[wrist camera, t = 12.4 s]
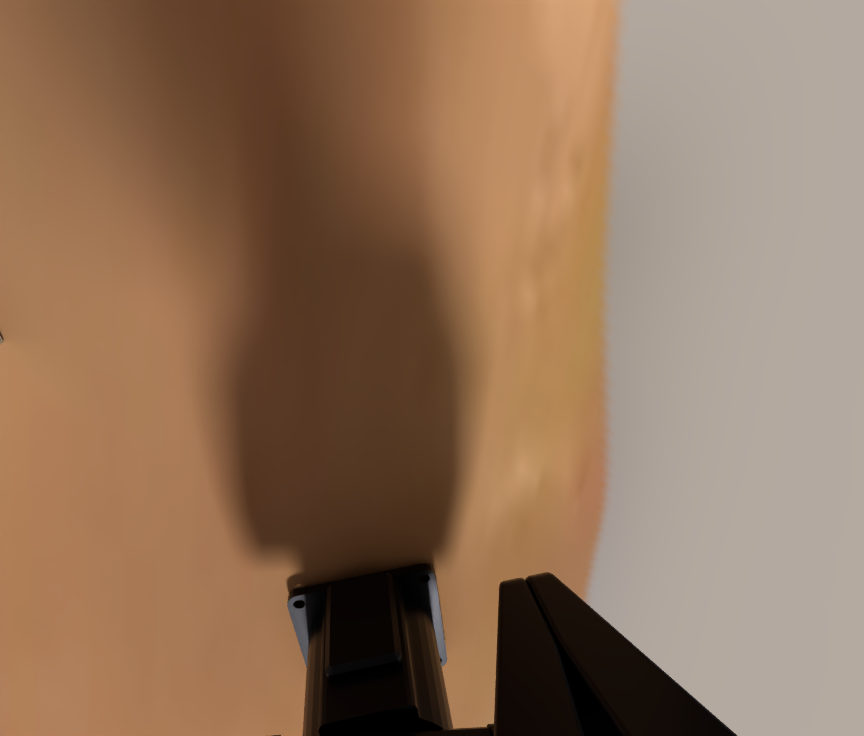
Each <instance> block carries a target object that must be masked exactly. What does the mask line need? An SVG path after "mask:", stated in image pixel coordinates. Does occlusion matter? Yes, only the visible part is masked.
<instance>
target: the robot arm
mask: <svg viewBox="0 0 864 736" xmlns="http://www.w3.org/2000/svg"><path fill="white" fill-rule="evenodd" d="M421 575H426V576H421ZM297 600H302V601H297ZM288 609H289V613H290V616H291V619H292V622H293V625H294V629H295V632H296V635H297V638H298V641H299V645H300V648H301V651H302V654H303V657H304V660H305V664H306V667H307V674H306V690H305V706H304V722H303V736H737V735H736V734H735V733H734V732H733V731H731V730H730V729H729V728H728V727H727V726H726V725H725V724H723V723H722V722H721V721H720V720H719V719H717V718H716V717H715V716H714V715H713V714H712V713H711V712H710V711H709V710H707V709H706V708H705V707H704V706H703V705H702V704H701V703H699V702H698V701H697V700H696V699H695V698H694V697H693V696H691V695H690V694H689V693H688V692H687V691H686V690H685V689H683V688H682V687H681V686H680V685H679V684H678V683H676V682H675V681H674V680H673V679H672V678H671V677H670V676H669V675H667V674H666V673H665V672H664V671H663V670H662V669H661V668H659V667H658V666H657V665H656V664H655V663H654V662H653V661H651V660H650V659H649V658H648V657H647V656H645V654H643V653H642V652H641V651H640V650H639V649H638V648H636V647H635V646H634V645H633V644H632V643H631V642H630V641H629V640H627V639H626V638H625V637H624V636H623V635H622V634H620V633H619V632H618V631H617V630H616V629H615V628H614V627H612V626H611V625H610V624H609V623H608V622H607V621H606V620H604V619H603V618H602V617H601V616H600V615H599V614H598V613H597V612H595V611H594V610H593V609H592V608H591V607H590V606H589V605H587V604H586V603H585V602H584V601H583V600H582V599H581V598H579V597H578V596H577V595H576V594H575V593H574V592H573V591H571V590H570V589H569V588H568V587H567V586H566V585H565V584H563V583H562V582H561V581H560V580H559V579H558V578H557V577H555V576H554V575H553V574H551V573H548V572H546V573H541V574H536V575H531V576H528V577H527V578H526V580H525V579H523V578H516V579H512V580H507V581H503V582H501V583H500V586H499V607H498V634H497V661H496V688H495V714H494V724H488V725H487V727H477V728H459V729H453V725H452V720H451V714H450V709H449V704H448V698H447V693H446V688H445V682H444V677H443V672H442V666H443V665H445V663H446V662H447V655H446V648H445V641H444V634H443V627H442V620H441V613H440V606H439V598H438V591H437V584H436V577H435V572H434V569H433V567H432V566H431V565H429V564H418V565H413V566H408V567H403V568H398V569H393V570H388V571H383V572H378V573H373V574H368V575H363V576H358V577H353V578H348V579H343V580H338V581H333V582H328V583H324V584H319V585H314V586H309V587H304V588H299V589H295V590H293V591H292V592H290V594H289V596H288ZM273 736H281V735H273Z"/></svg>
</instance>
